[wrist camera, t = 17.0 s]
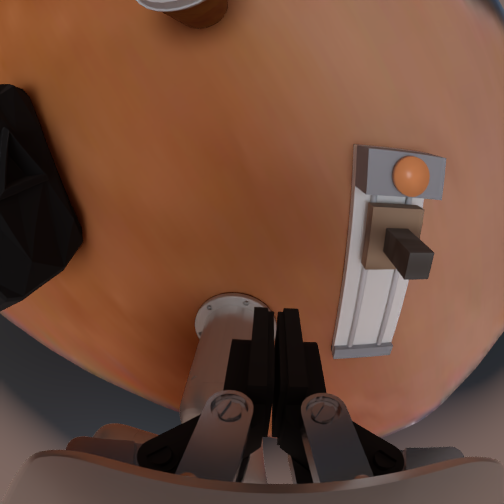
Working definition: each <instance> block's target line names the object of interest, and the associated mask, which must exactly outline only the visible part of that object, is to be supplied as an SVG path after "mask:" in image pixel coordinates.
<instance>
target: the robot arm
mask: <svg viewBox="0 0 504 504" xmlns="http://www.w3.org/2000/svg"><path fill="white" fill-rule="evenodd" d="M195 330H196V333H197V336H198V338H199V339H200V340H199V343H198V346H197V350H196V353H195V356H194V360H193V363H192V366H191V370H190V373H189V376H188V380H187V383H186V386H185V390H184V393H183V397H182V400H181V404H180V419H181V423H182V424H181V425H179V426H177V427H175V428H173V429H171V430H169V431H167V432H165V433H162V434H161V435H156V434H153V433H150V432H146V431H144V430H140V429H137V428H134V427H130V426H127V425H123V424H116V423H115V424H114V423H113V424H107V425H104V426H102V427H101V428H100V429H99V430H97V432H96V433H95V434H94V436H93V437H85V436H82V437H76V438H74V439H72V440H71V441H70V442H69V443H68V445H67V447H66V450H47V451H41V452H38V453H35V454H33V455H32V456H30V457H29V458H28V459H27V460H26V461H25V462H24V463H23V464H22V466H21V467H20V469H19V470H18V471H17V473H16V474H15V476H14V478H13V480H12V481H11V483H10V485H9V487H8V489H7V491H6V493H5V495H4V497H3V500H2V501H1V504H504V464H502V463H501V462H500V461H498V460H496V459H492V458H487V457H464V455H463V453H462V452H461V451H460V450H459V449H457V448H455V447H430V448H405V450H399V449H398V448H396V447H395V446H393V445H392V444H390V443H388V442H387V441H385V440H383V439H381V438H380V437H378V436H376V435H375V434H373V433H371V432H370V431H368V430H366V429H365V428H363V427H361V426H360V425H358V424H356V423H355V422H353V421H352V420H351V417H350V415H349V412H348V410H347V407H346V405H345V404H344V402H343V401H342V400H341V399H340V398H338V397H337V396H334V395H332V394H328V393H326V388H325V382H324V376H323V371H322V365H321V360H320V354H319V349H318V345H317V343H316V342H303V340H302V332H301V325H300V318H299V311H298V309H290V308H284V310H283V312H278V317H277V324H276V320H275V317H274V312H273V311H271V310H270V309H269V308H268V307H267V306H266V305H265V304H264V303H263V302H261V301H259V300H258V299H256V298H254V297H251V296H248V295H245V294H240V293H226V294H220V295H217V296H214V297H212V298H210V299H209V300H207V301H206V302H205V303H204V304H203V305H202V306H201V307H200V309H199V311H198V313H197V315H196V319H195ZM274 340H275V347H274ZM271 408H272V437H277V445H280V448H281V449H282V450H284V451H285V452H286V453H288V462H289V466H290V471H291V475H292V481H293V484H268V483H267V477H266V471H265V465H264V457H263V443H262V442H263V440H262V437H267V435H268V429H269V422H270V415H271Z"/></svg>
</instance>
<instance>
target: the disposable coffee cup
mask: <svg viewBox="0 0 504 504" xmlns="http://www.w3.org/2000/svg"><path fill="white" fill-rule="evenodd" d="M136 1H137V2H138V3H139V4H141V5H142V6H144V7H145V8H147V9H151V10H154V11H161V12H163V13H165V14H167V15H169V16H171V17H172V18H174V19H176V20H178V21H180V22H181V23H183V24H185V25H187V26H189V27H192V28H205V27H209V26H212V25H214V24H215V23H217V22H218V21H220V20H221V19H222V18H223V17H224V15H225V13H226V11H227V7H228V4H227V0H136Z"/></svg>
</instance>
